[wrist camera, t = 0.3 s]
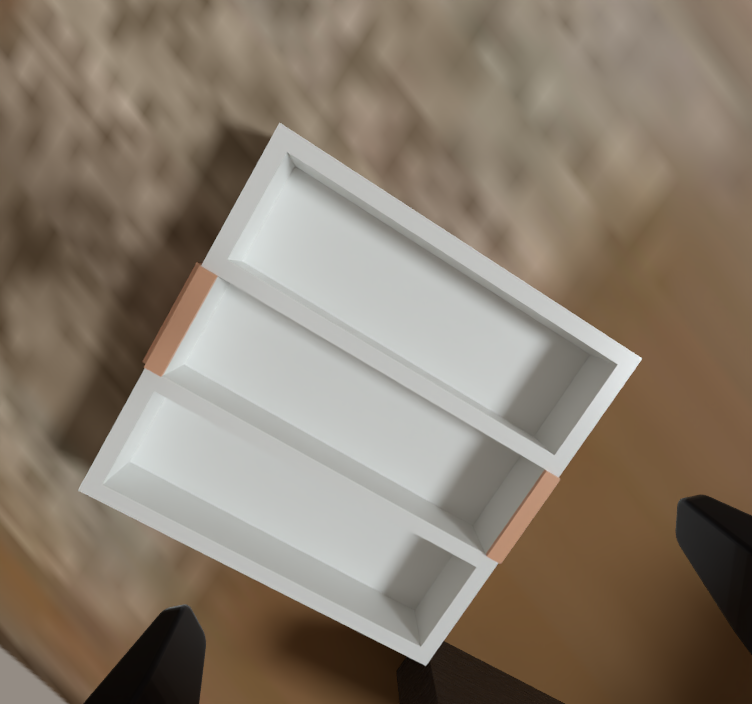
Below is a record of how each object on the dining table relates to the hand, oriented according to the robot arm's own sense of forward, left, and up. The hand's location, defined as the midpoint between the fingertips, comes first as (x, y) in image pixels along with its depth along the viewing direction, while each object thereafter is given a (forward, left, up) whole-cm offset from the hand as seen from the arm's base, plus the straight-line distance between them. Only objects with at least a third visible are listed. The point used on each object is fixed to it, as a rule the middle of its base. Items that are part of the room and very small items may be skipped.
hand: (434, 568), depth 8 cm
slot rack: (-2, 0, -15) cm, 15 cm away
